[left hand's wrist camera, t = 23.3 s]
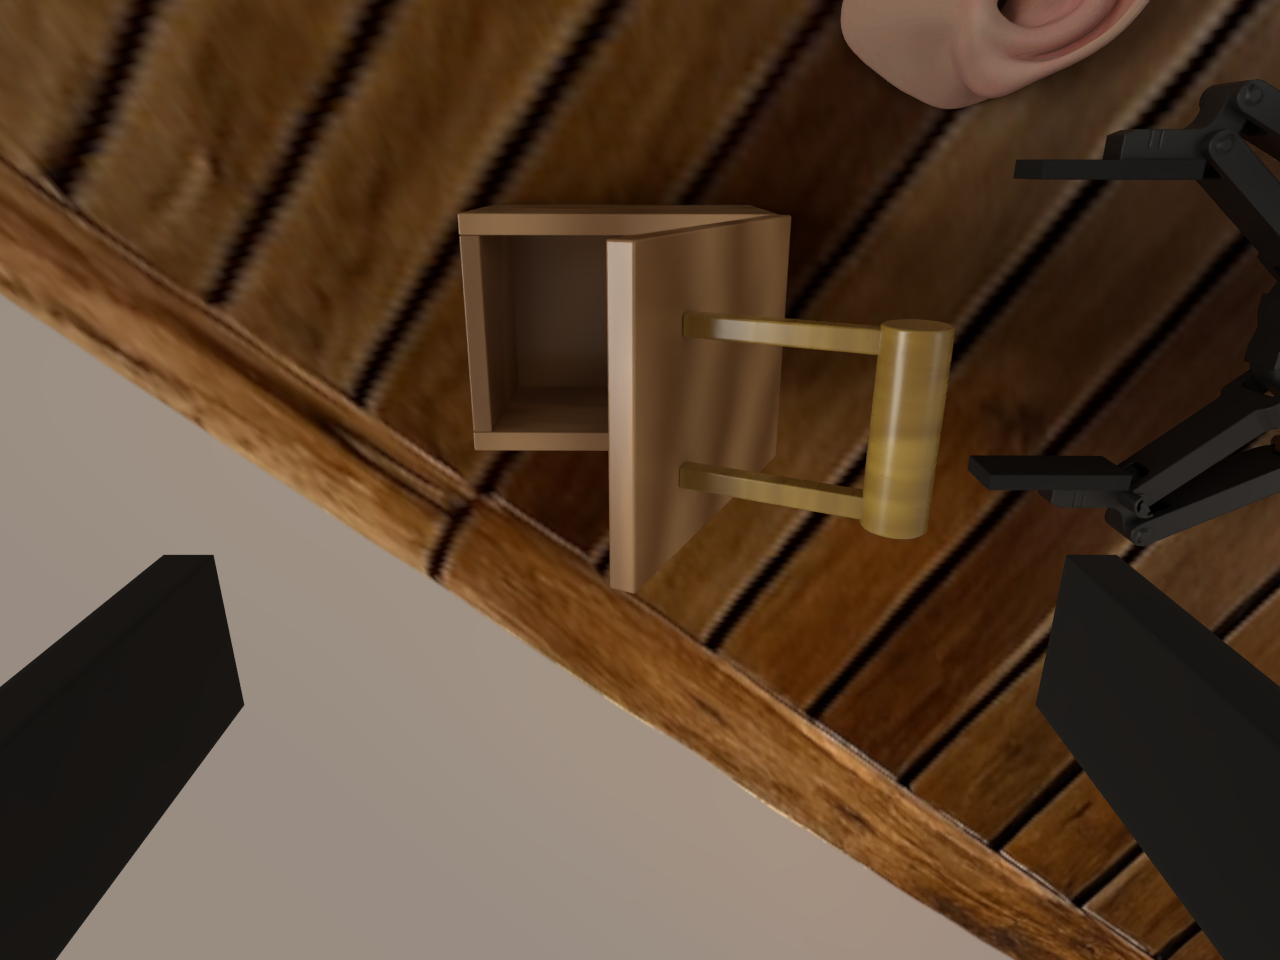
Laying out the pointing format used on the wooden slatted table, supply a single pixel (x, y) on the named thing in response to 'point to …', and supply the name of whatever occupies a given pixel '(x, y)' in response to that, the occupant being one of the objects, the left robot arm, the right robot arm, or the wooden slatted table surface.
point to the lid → (744, 393)
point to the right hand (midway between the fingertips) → (1000, 330)
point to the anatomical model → (978, 42)
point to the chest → (549, 315)
